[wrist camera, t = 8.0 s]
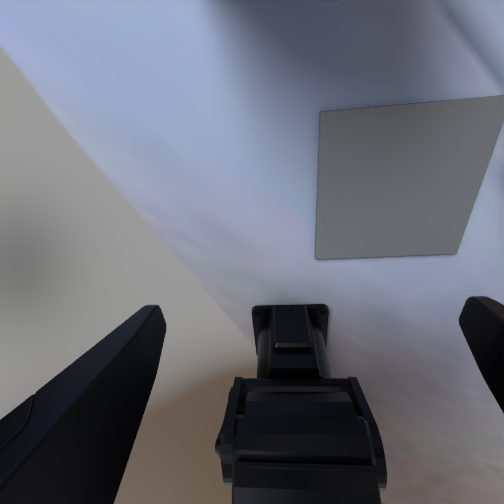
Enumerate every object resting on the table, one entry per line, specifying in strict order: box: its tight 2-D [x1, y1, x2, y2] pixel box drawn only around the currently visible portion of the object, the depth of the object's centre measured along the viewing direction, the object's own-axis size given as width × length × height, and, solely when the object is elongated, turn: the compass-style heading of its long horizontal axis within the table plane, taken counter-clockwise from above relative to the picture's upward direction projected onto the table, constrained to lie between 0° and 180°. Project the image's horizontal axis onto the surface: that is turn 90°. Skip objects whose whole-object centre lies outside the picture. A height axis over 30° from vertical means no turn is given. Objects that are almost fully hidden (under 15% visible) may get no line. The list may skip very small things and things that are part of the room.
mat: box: [315, 95, 504, 259], centre depth 18 cm, size 10×10×1 cm
